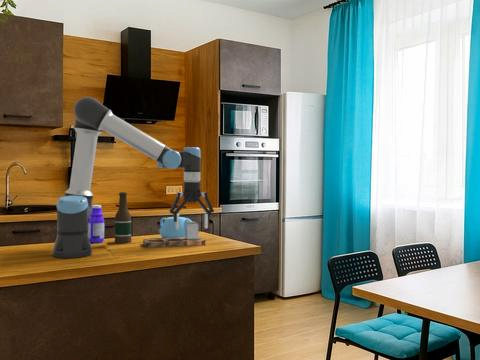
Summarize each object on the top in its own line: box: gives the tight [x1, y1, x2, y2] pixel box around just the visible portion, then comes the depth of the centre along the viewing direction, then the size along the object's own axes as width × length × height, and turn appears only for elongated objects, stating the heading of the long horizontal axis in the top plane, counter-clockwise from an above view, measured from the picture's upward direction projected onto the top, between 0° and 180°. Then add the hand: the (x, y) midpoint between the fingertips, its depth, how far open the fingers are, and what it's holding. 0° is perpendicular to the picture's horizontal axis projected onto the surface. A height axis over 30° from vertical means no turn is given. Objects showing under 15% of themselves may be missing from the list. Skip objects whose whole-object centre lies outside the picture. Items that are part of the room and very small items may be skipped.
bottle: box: [88, 204, 105, 244], centre depth 226 cm, size 7×6×17 cm
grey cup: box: [185, 221, 199, 240], centre depth 218 cm, size 5×5×10 cm
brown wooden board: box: [142, 236, 206, 249], centre depth 215 cm, size 26×10×3 cm, turn 110°
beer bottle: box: [114, 191, 132, 245], centre depth 219 cm, size 8×8×24 cm
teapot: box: [158, 213, 193, 239], centre depth 238 cm, size 20×20×13 cm
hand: (191, 228), depth 218 cm, fingers open, 13 cm apart
